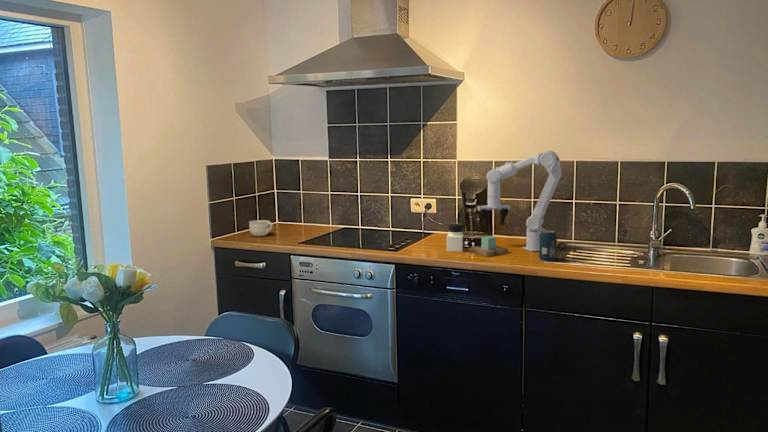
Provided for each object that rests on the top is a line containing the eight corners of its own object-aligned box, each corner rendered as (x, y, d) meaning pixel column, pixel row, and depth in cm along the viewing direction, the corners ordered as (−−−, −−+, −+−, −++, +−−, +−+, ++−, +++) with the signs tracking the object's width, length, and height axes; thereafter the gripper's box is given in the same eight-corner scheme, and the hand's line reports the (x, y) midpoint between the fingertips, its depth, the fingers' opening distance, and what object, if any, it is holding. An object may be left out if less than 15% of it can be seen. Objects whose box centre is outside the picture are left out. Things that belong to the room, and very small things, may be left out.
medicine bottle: (462, 252, 266) (462, 225, 264) (446, 251, 267) (446, 225, 266) (464, 248, 273) (464, 222, 271) (448, 248, 274) (448, 222, 272)
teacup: (245, 236, 317) (244, 221, 315) (262, 233, 325) (261, 218, 324) (262, 238, 308) (261, 223, 306) (278, 235, 316) (278, 220, 315)
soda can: (543, 257, 252) (543, 229, 251) (559, 259, 248) (559, 230, 246) (536, 260, 247) (536, 231, 245) (552, 262, 243) (552, 233, 241)
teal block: (489, 246, 266) (489, 235, 265) (496, 248, 262) (496, 237, 262) (481, 248, 264) (481, 236, 263) (488, 249, 260) (488, 238, 259)
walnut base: (488, 248, 272) (488, 244, 272) (507, 253, 262) (507, 248, 262) (468, 252, 266) (468, 247, 265) (486, 256, 256) (486, 252, 255)
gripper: (480, 197, 267) (480, 227, 269) (512, 196, 269) (512, 226, 271) (476, 195, 274) (476, 225, 276) (507, 194, 276) (507, 224, 278)
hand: (493, 225), depth 274 cm, fingers open, 7 cm apart
